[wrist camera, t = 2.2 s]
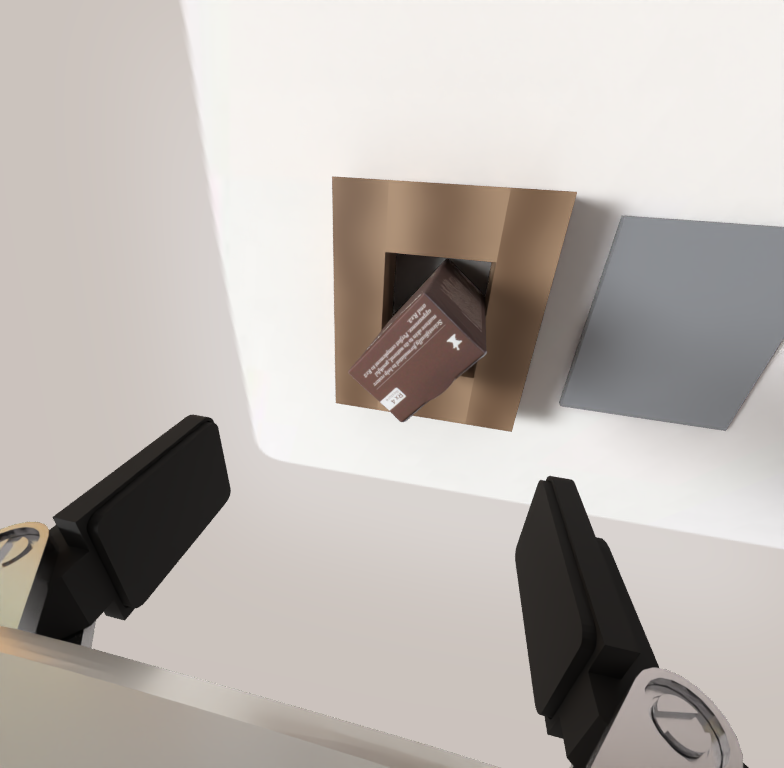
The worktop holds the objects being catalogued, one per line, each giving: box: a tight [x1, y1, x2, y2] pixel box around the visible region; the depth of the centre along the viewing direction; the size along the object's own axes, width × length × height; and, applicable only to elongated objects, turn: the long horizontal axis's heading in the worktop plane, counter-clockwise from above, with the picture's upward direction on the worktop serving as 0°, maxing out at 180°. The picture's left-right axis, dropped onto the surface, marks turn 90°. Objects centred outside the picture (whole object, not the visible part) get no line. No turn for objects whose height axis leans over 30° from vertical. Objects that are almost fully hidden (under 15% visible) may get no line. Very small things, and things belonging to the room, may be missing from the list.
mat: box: [559, 216, 784, 431], centre depth 25 cm, size 12×14×1 cm
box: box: [348, 258, 487, 422], centre depth 22 cm, size 6×4×12 cm
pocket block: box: [332, 177, 577, 432], centre depth 26 cm, size 14×16×4 cm
